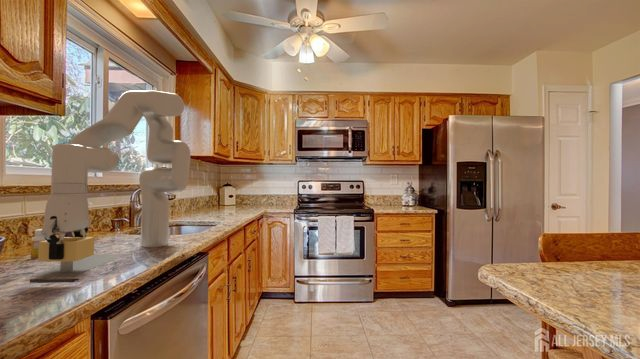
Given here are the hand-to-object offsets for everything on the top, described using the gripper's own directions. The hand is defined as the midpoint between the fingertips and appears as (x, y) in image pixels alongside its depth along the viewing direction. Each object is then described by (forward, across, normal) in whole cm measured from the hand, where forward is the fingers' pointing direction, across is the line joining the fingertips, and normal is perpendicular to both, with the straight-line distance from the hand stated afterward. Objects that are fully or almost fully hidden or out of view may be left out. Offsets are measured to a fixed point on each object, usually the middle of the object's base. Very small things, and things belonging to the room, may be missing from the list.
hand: (67, 255), depth 79 cm
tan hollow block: (+1, 0, 0) cm, 1 cm away
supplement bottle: (+6, -19, -21) cm, 29 cm away
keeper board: (+6, -7, 0) cm, 9 cm away
